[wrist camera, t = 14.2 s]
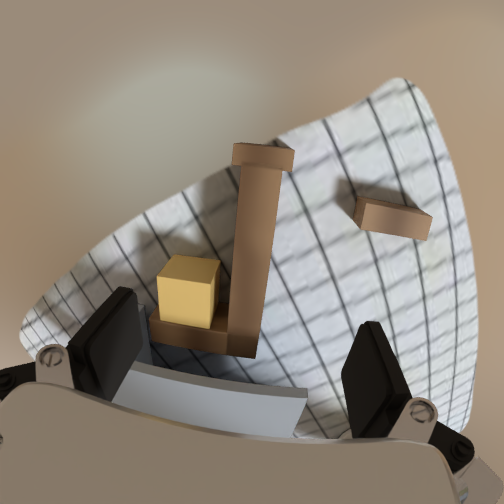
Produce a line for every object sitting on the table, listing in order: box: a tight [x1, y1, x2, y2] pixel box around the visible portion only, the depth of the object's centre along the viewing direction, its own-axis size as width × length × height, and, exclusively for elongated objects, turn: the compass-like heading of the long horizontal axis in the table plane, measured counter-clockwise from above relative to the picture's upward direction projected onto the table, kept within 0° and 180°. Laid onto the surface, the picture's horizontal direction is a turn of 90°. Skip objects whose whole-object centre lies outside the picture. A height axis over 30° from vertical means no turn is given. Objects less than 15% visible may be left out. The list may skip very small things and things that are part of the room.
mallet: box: [149, 143, 295, 359], centre depth 25 cm, size 12×20×5 cm, turn 174°
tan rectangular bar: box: [353, 196, 433, 241], centre depth 24 cm, size 7×2×3 cm, turn 84°
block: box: [157, 254, 221, 329], centre depth 27 cm, size 5×5×5 cm
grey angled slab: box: [112, 304, 308, 438], centre depth 29 cm, size 20×13×10 cm, turn 84°
